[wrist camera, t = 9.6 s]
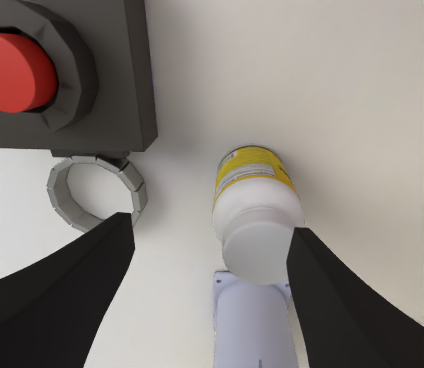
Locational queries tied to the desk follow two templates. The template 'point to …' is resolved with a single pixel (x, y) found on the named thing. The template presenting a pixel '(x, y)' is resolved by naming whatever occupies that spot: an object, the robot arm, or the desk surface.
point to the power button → (24, 74)
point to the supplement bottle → (255, 214)
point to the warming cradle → (107, 160)
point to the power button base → (85, 76)
